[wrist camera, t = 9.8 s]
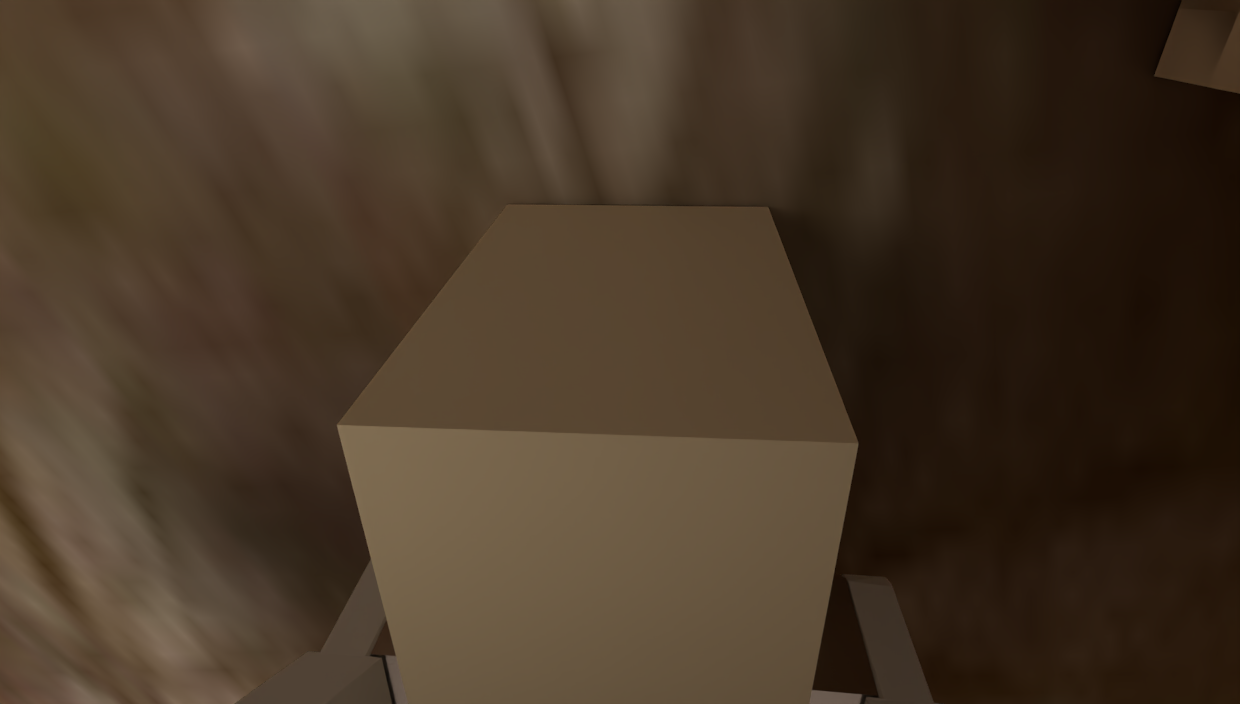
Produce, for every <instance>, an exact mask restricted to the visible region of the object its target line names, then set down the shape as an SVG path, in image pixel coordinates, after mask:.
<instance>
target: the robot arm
mask: <svg viewBox="0 0 1240 704" xmlns="http://www.w3.org/2000/svg"><path fill="white" fill-rule="evenodd" d="M235 704H408V701H407V697H406V693H405V689H404V685H403V682H402V678H401V674H400V670H399V666H398V662H397V658H396V654H395V650H394V646H393V643H392V639H391V635H390V631H389V627H388V623H387V619H386V615H385V611H384V607H383V604H382V600H381V596H380V592H379V588H378V584H377V580H376V576H375V572H374V568H373V565H372V561H371V559H370V561H369V563H368V565H367V567H366V568H365V570H364V572H363V574H362V576H361V578H360V579H359V581H358V583H357V585H356V587H355V589H354V591H353V592H352V594H351V596H350V598H349V600H348V602H347V603H346V605H345V607H344V609H343V611H342V613H341V615H340V616H339V618H338V620H337V622H336V624H335V626H334V627H333V629H332V631H331V633H330V635H329V637H328V639H327V640H326V642H325V644H324V646H323V648H322V650H321V652H311V651H307V652H306V653H305V654H303V655H302V656H300V657H299V658H298V659H296V660H295V661H293V662H292V663H291V664H289V665H288V666H286V667H285V668H284V669H282V670H281V671H279V672H278V673H277V674H275V675H274V676H272V677H271V678H270V679H268V680H267V681H265V682H264V683H263V684H261V685H260V686H258V687H257V688H256V689H254V690H253V691H251V692H250V693H249V694H247V695H246V696H244V697H243V698H242V699H240V700H239V701H237V702H236V703H235ZM809 704H942V703H934V702H933V699H932V696H931V693H930V690H929V688H928V685H927V682H926V679H925V676H924V674H923V671H922V668H921V665H920V662H919V660H918V657H917V654H916V651H915V648H914V646H913V643H912V640H911V637H910V634H909V631H908V629H907V626H906V623H905V620H904V617H903V615H902V612H901V609H900V606H899V603H898V601H897V598H896V595H895V592H894V589H893V587H892V584H891V583H890V582H889V580H888V579H887V578H886V577H882V576H866V575H850V574H842V575H840V574H836V573H834V576H833V581H832V587H831V592H830V597H829V602H828V608H827V613H826V618H825V624H824V629H823V634H822V639H821V645H820V650H819V655H818V660H817V666H816V671H815V676H814V681H813V687H812V692H811V697H810V702H809Z"/></svg>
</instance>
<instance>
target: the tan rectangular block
mask: <svg viewBox="0 0 1240 704" xmlns="http://www.w3.org/2000/svg"><path fill="white" fill-rule="evenodd" d="M337 428H338V432H339V436H340V440H341V444H342V448H343V452H344V455H345V459H346V463H347V467H348V471H349V475H350V479H351V483H352V487H353V491H354V494H355V498H356V502H357V506H358V510H359V514H360V518H361V522H362V526H363V530H364V533H365V537H366V541H367V545H368V549H369V553H370V557H371V561H372V565H373V568H374V572H375V576H376V580H377V584H378V588H379V592H380V596H381V600H382V604H383V607H384V611H385V615H386V619H387V623H388V627H389V631H390V635H391V639H392V643H393V646H394V650H395V654H396V658H397V662H398V666H399V670H400V674H401V678H402V682H403V685H404V689H405V693H406V697H407V701H408V704H809V702H810V697H811V692H812V687H813V681H814V676H815V671H816V666H817V660H818V655H819V650H820V645H821V639H822V634H823V629H824V624H825V618H826V613H827V608H828V602H829V597H830V592H831V587H832V581H833V576H834V571H835V566H836V560H837V555H838V550H839V545H840V539H841V534H842V529H843V523H844V518H845V513H846V508H847V502H848V497H849V492H850V487H851V481H852V476H853V471H854V466H855V460H856V455H857V450H858V444H859V443H858V440H857V438H856V435H855V432H854V430H853V427H852V425H851V422H850V419H849V417H848V414H847V412H846V409H845V406H844V404H843V401H842V398H841V396H840V393H839V391H838V388H837V385H836V383H835V380H834V378H833V375H832V372H831V370H830V367H829V365H828V362H827V359H826V357H825V354H824V351H823V349H822V346H821V344H820V341H819V338H818V336H817V333H816V331H815V328H814V325H813V323H812V320H811V318H810V315H809V312H808V310H807V307H806V304H805V302H804V299H803V297H802V294H801V291H800V289H799V286H798V284H797V281H796V278H795V276H794V273H793V271H792V268H791V265H790V263H789V260H788V257H787V255H786V252H785V250H784V247H783V244H782V242H781V239H780V237H779V234H778V231H777V229H776V226H775V224H774V221H773V218H772V216H771V213H770V211H769V208H768V207H734V206H633V205H533V204H507V205H506V207H505V208H504V209H503V211H502V212H501V213H500V214H499V216H498V217H497V218H496V220H495V221H494V222H493V223H492V225H491V226H490V227H489V229H488V230H487V231H486V233H485V234H484V235H483V236H482V238H481V239H480V240H479V242H478V243H477V244H476V245H475V247H474V248H473V249H472V251H471V252H470V253H469V254H468V256H467V257H466V258H465V260H464V261H463V262H462V264H461V265H460V266H459V267H458V269H457V270H456V271H455V273H454V274H453V275H452V276H451V278H450V279H449V280H448V282H447V283H446V284H445V286H444V287H443V288H442V289H441V291H440V292H439V293H438V295H437V296H436V297H435V298H434V300H433V301H432V302H431V304H430V305H429V306H428V308H427V309H426V310H425V311H424V313H423V314H422V315H421V317H420V318H419V319H418V320H417V322H416V323H415V324H414V326H413V327H412V328H411V329H410V331H409V332H408V333H407V335H406V336H405V337H404V339H403V340H402V341H401V342H400V344H399V345H398V346H397V348H396V349H395V350H394V351H393V353H392V354H391V355H390V357H389V358H388V359H387V361H386V362H385V363H384V364H383V366H382V367H381V368H380V370H379V371H378V372H377V373H376V375H375V376H374V377H373V379H372V380H371V381H370V383H369V384H368V385H367V386H366V388H365V389H364V390H363V392H362V393H361V394H360V395H359V397H358V398H357V399H356V401H355V402H354V403H353V404H352V406H351V407H350V408H349V410H348V411H347V412H346V414H345V415H344V416H343V417H342V419H341V420H340V421H339V423H338V424H337Z"/></svg>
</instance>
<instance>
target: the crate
mask: <svg viewBox="0 0 1240 704" xmlns="http://www.w3.org/2000/svg"><path fill="white" fill-rule="evenodd" d="M1154 76H1156V77H1161V78H1166V79H1171V80H1175V81H1180V82H1185V83H1190V84H1195V85H1200V86H1205V87H1210V88H1215V89H1220V90H1224V91H1229V92H1234V93H1239V94H1240V0H1182V1H1181V4H1180V7H1179V9H1178V12H1177V15H1176V17H1175V20H1174V23H1173V26H1172V28H1171V31H1170V34H1169V36H1168V39H1167V42H1166V45H1165V47H1164V50H1163V53H1162V55H1161V58H1160V61H1159V64H1158V66H1157V69H1156V72H1155V74H1154Z"/></svg>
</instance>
